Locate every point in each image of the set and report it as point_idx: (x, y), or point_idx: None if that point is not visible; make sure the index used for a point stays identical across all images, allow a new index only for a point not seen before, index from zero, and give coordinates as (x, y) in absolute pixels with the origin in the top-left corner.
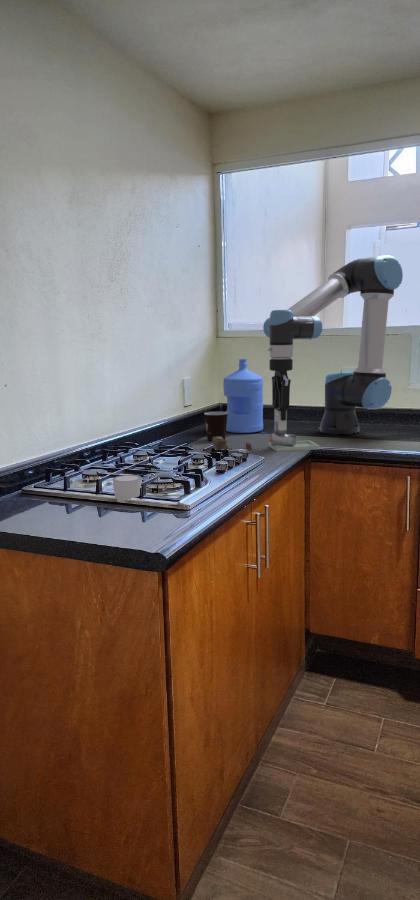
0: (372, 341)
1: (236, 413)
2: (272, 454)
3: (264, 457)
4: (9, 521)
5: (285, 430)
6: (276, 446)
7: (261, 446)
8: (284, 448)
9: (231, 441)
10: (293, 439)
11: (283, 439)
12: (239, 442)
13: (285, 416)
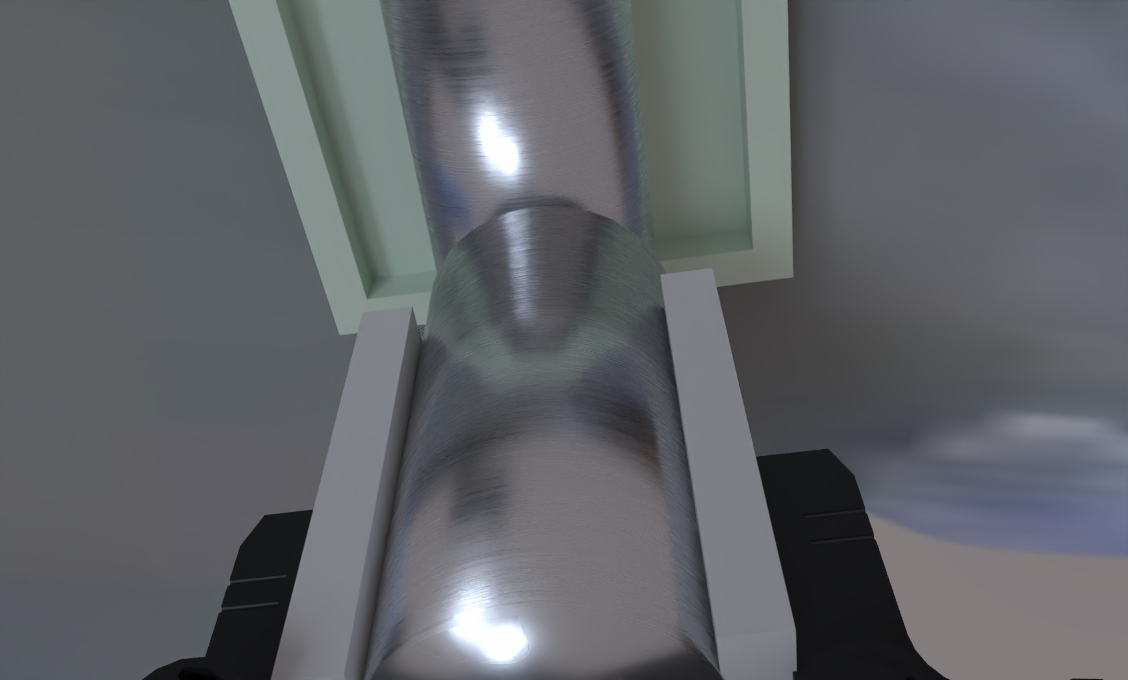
0: None
1: None
2: (898, 306)
3: (1040, 409)
4: None
5: (631, 266)
6: (667, 263)
7: (325, 380)
8: (790, 153)
9: (7, 646)
10: (626, 14)
11: (647, 211)
12: (60, 582)
13: (873, 537)
